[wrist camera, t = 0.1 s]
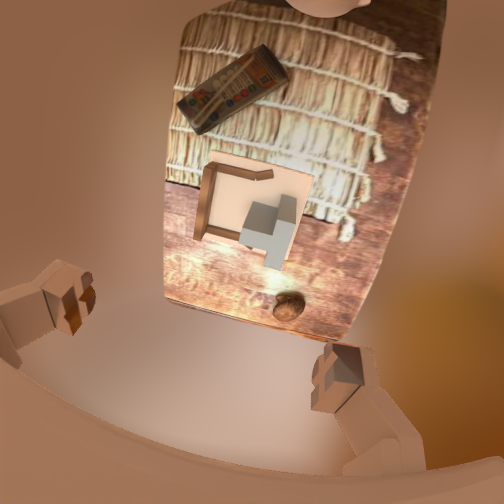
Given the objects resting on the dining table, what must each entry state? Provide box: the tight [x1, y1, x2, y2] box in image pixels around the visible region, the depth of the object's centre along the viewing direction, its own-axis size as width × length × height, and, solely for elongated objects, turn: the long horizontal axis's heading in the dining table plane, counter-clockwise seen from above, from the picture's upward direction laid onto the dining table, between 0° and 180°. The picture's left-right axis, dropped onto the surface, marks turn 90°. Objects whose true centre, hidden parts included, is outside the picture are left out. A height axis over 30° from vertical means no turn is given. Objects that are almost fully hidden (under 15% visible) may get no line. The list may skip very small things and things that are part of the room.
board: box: [203, 150, 314, 260], centre depth 58 cm, size 19×20×1 cm
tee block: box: [238, 194, 297, 271], centre depth 52 cm, size 9×8×12 cm
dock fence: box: [193, 161, 274, 250], centre depth 55 cm, size 18×12×5 cm
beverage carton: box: [176, 44, 289, 135], centre depth 44 cm, size 8×19×6 cm, turn 123°
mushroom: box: [273, 296, 305, 322], centre depth 67 cm, size 8×8×6 cm
